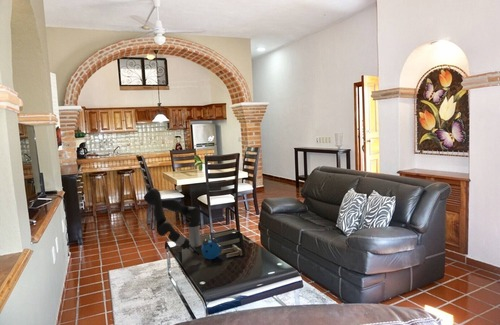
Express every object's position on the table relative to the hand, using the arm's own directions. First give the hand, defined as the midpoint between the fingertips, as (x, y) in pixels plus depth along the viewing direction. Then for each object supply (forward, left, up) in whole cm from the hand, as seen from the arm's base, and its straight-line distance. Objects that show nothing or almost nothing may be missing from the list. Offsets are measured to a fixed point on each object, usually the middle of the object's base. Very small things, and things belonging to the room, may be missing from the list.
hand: (199, 254), depth 267 cm
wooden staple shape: (0, +25, -5) cm, 26 cm away
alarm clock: (0, +9, -5) cm, 10 cm away
